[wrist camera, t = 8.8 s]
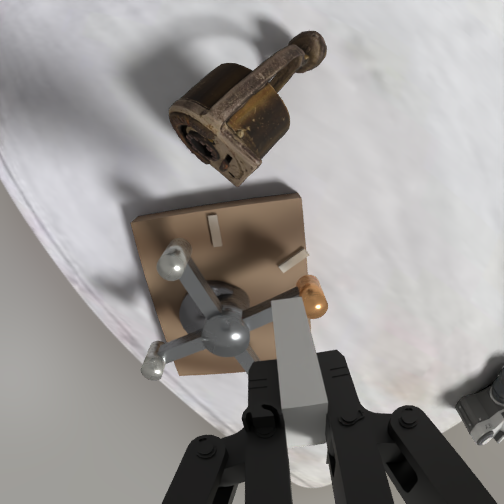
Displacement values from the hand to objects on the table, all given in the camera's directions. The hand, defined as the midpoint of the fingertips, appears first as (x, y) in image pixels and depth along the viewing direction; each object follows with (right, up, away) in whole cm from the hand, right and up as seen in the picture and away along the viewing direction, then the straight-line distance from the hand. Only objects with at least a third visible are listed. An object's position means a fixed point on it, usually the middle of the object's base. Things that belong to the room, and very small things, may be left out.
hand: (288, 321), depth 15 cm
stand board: (-4, 0, +14) cm, 14 cm away
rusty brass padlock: (-2, +16, +8) cm, 18 cm away
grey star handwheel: (-4, -1, +12) cm, 13 cm away
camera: (+39, -19, +22) cm, 49 cm away
